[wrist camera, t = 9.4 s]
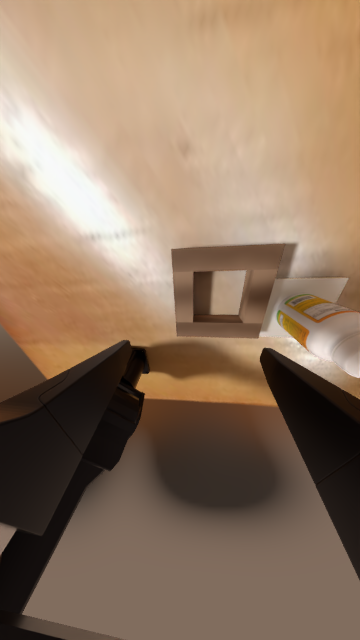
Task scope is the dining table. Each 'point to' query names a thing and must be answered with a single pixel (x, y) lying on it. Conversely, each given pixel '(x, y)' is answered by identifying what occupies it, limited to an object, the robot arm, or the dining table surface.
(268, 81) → the dining table surface
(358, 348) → the supplement bottle
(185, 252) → the block
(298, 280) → the coaster
